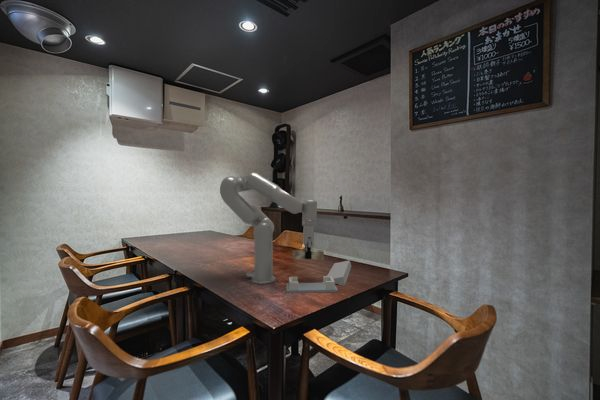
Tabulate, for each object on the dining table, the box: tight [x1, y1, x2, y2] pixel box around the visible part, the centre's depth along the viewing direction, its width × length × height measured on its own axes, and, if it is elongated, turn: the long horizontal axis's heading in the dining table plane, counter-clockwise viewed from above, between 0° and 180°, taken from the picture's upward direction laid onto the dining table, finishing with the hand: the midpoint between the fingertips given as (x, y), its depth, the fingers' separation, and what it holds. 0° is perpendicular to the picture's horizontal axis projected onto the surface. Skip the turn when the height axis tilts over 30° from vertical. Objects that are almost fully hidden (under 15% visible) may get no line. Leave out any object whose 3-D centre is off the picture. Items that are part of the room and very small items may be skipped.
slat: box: [292, 249, 325, 261], centre depth 138 cm, size 16×4×4 cm, turn 94°
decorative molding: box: [326, 259, 352, 286], centre depth 149 cm, size 34×5×10 cm
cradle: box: [285, 275, 339, 294], centre depth 127 cm, size 24×10×4 cm, turn 94°
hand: (307, 257), depth 138 cm, fingers closed on slat, 4 cm apart
